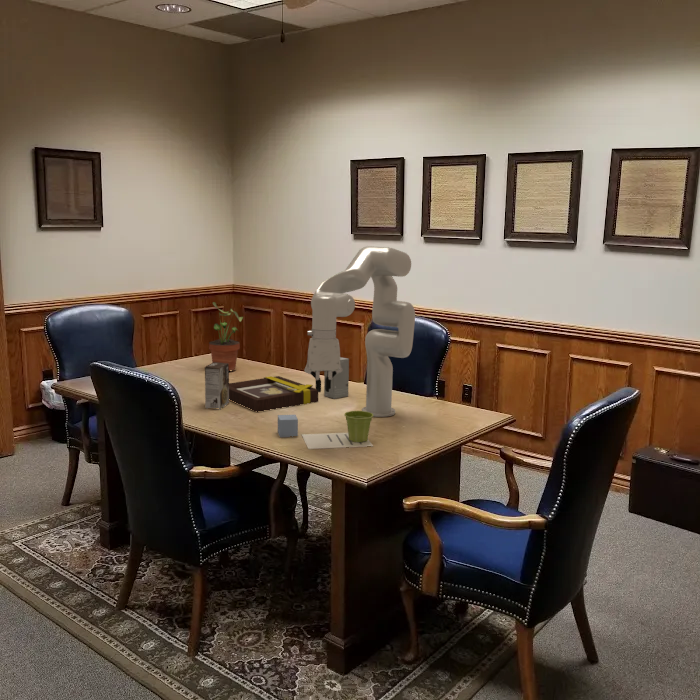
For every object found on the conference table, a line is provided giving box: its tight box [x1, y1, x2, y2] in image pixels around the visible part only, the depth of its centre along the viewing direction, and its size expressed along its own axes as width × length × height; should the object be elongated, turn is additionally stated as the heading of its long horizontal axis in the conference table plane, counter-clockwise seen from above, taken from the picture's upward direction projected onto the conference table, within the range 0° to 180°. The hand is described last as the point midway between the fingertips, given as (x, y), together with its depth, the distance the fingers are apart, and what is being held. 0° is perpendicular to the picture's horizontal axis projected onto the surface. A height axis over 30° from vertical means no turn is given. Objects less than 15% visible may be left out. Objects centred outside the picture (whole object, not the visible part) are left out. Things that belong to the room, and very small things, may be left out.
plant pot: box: [344, 410, 374, 442], centre depth 235 cm, size 9×9×9 cm
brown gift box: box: [229, 375, 319, 413], centre depth 285 cm, size 28×7×30 cm
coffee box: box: [204, 362, 230, 410], centre depth 272 cm, size 9×6×16 cm
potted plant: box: [208, 301, 244, 371], centre depth 332 cm, size 16×15×35 cm
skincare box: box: [323, 356, 350, 400], centre depth 292 cm, size 8×7×16 cm
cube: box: [277, 414, 299, 438], centre depth 240 cm, size 6×6×6 cm
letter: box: [301, 432, 374, 450], centre depth 235 cm, size 15×21×1 cm
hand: (323, 390), depth 230 cm, fingers closed
